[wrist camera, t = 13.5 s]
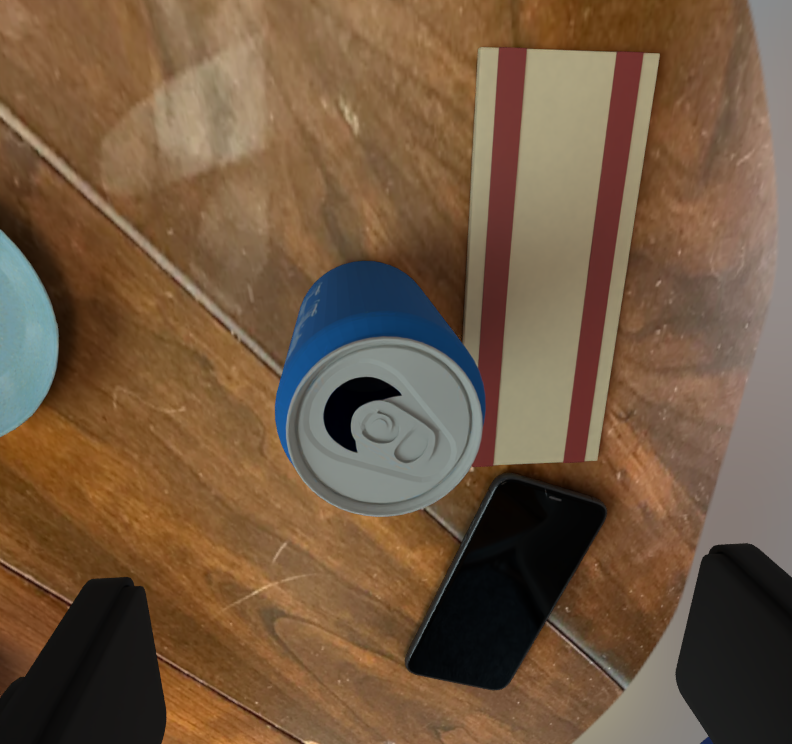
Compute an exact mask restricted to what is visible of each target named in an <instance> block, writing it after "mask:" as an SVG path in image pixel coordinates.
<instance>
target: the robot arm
mask: <svg viewBox="0 0 792 744" xmlns="http://www.w3.org/2000/svg"><path fill="white" fill-rule="evenodd" d="M676 682H677V685H678V688H679V691H680V693H681V695H682V696H683V698H684V699H685V701H686V703H687V704H688V706H689V707H690V709H691V710H692V712H693V713H694V714H695V716H696V718H697V719H698V721H699V722H700V724H701V725H702V727H703V728H704V730H705V731H706V733H707V734H708V736H709V737H710V739H711V740H712V742H713V743H714V744H792V577H791V576H789V575H788V574H787V573H786V572H785V571H784V570H783V569H781V568H780V567H779V566H778V565H777V564H775V563H774V562H773V561H772V560H771V559H770V558H769V557H768V556H766V555H765V554H764V553H763V552H762V551H761V550H760V549H758V548H757V547H755V546H754V545H752V544H748V543H745V544H725V545H716V546H713V547H712V548H711V549H710V551H709V554H708V555H705V556H704V557H703V559H702V561H701V565H700V569H699V573H698V578H697V582H696V586H695V590H694V595H693V599H692V603H691V607H690V612H689V616H688V621H687V625H686V629H685V633H684V638H683V642H682V646H681V650H680V655H679V659H678V663H677V668H676ZM165 727H166V706H165V700H164V695H163V689H162V683H161V678H160V672H159V666H158V661H157V655H156V649H155V644H154V638H153V632H152V627H151V621H150V615H149V610H148V604H147V598H146V593H145V589H144V588H143V587H142V586H134V583H133V581H132V579H131V578H129V577H120V578H101V579H91V580H89V581H88V582H87V583H86V584H85V585H84V586H83V588H82V589H81V591H80V593H79V594H78V596H77V597H76V599H75V600H74V602H73V603H72V605H71V606H70V608H69V609H68V611H67V613H66V614H65V616H64V617H63V619H62V620H61V622H60V623H59V625H58V626H57V628H56V630H55V631H54V633H53V634H52V636H51V637H50V639H49V640H48V642H47V643H46V645H45V646H44V648H43V650H42V651H41V653H40V654H39V656H38V657H37V659H36V660H35V662H34V663H33V665H32V667H31V668H30V670H29V671H28V673H27V674H26V676H25V677H20V678H19V679H17V680H16V681H14V682H13V683H11V685H10V686H9V687H8V688H7V690H6V691H5V692H4V693H3V695H2V696H1V698H0V744H161V743H162V740H163V736H164V732H165Z"/></svg>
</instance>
